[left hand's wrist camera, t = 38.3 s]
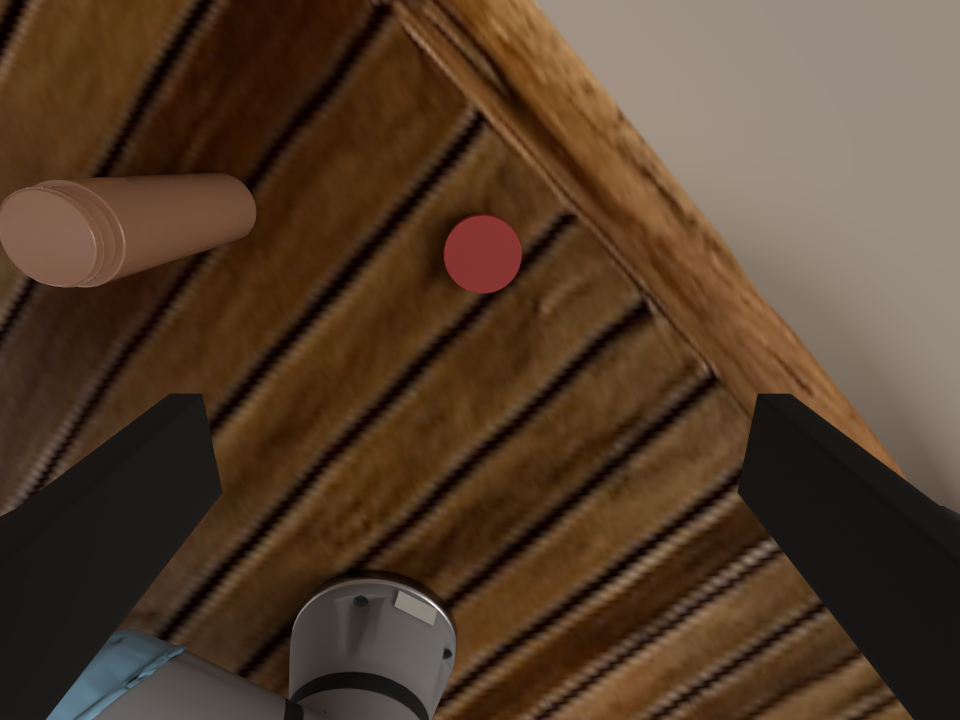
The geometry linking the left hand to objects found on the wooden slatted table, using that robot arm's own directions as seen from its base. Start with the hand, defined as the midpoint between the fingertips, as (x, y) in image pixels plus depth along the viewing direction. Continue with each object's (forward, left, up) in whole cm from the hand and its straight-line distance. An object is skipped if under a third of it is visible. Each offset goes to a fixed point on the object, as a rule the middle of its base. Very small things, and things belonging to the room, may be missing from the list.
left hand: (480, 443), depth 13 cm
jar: (-9, +16, -27) cm, 32 cm away
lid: (0, 0, -25) cm, 25 cm away
